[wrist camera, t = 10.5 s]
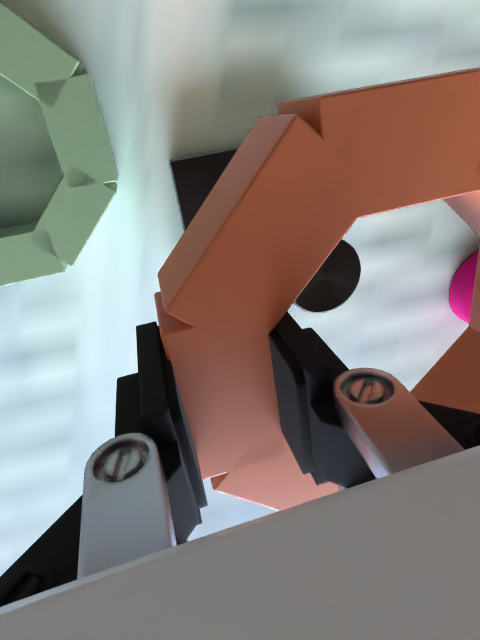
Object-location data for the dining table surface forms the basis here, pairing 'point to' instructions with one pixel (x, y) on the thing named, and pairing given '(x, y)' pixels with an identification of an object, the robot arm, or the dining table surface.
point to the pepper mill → (463, 288)
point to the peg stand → (331, 278)
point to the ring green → (71, 149)
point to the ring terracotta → (307, 260)
